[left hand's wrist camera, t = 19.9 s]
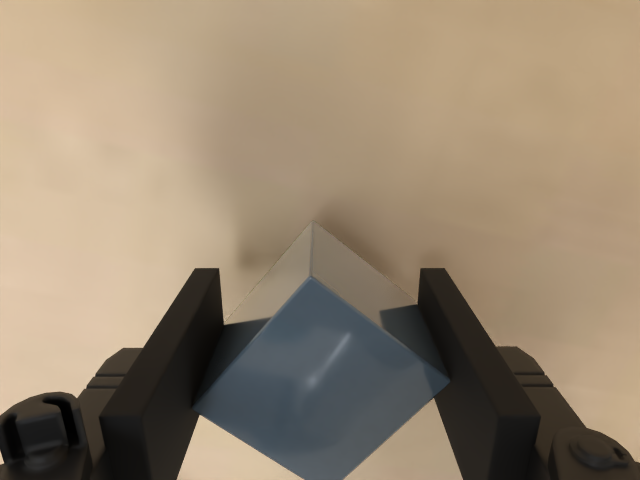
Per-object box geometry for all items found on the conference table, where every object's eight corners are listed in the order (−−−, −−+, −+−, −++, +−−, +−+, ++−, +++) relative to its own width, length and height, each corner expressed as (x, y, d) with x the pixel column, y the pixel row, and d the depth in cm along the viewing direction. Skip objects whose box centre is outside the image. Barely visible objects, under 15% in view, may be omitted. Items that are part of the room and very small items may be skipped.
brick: (416, 300, 15) (452, 382, 11) (325, 391, 16) (327, 495, 12) (312, 218, 14) (310, 275, 10) (224, 322, 15) (189, 410, 11)
